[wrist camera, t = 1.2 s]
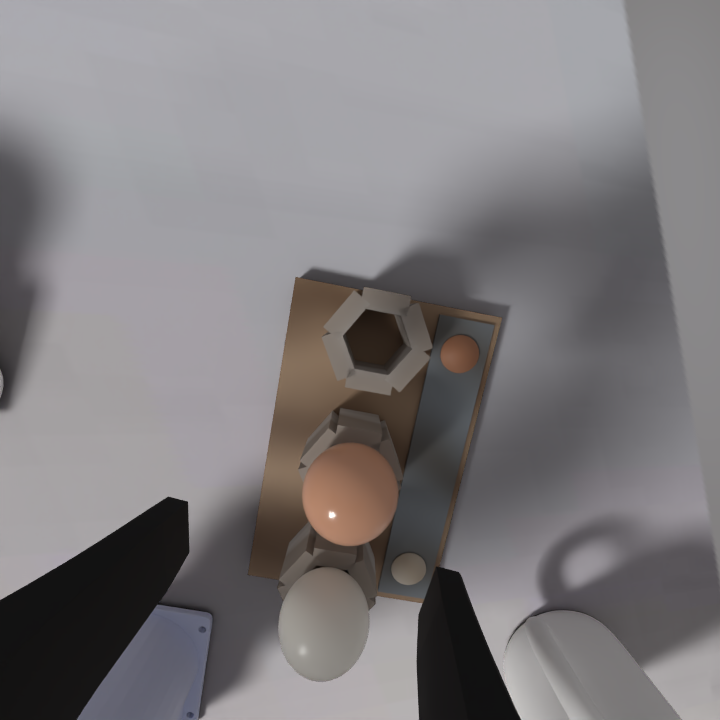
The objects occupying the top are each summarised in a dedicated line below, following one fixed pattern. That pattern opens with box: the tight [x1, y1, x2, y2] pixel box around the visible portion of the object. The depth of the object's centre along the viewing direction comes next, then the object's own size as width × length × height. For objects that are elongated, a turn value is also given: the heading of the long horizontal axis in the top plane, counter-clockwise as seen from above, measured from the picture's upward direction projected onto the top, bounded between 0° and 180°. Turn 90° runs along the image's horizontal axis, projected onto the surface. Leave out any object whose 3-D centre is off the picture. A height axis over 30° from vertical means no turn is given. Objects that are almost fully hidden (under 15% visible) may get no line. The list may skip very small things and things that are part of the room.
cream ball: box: [278, 567, 369, 682], centre depth 17 cm, size 4×4×4 cm
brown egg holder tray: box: [248, 277, 502, 610], centre depth 20 cm, size 19×12×4 cm, turn 169°
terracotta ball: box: [302, 442, 398, 546], centre depth 16 cm, size 4×4×4 cm
